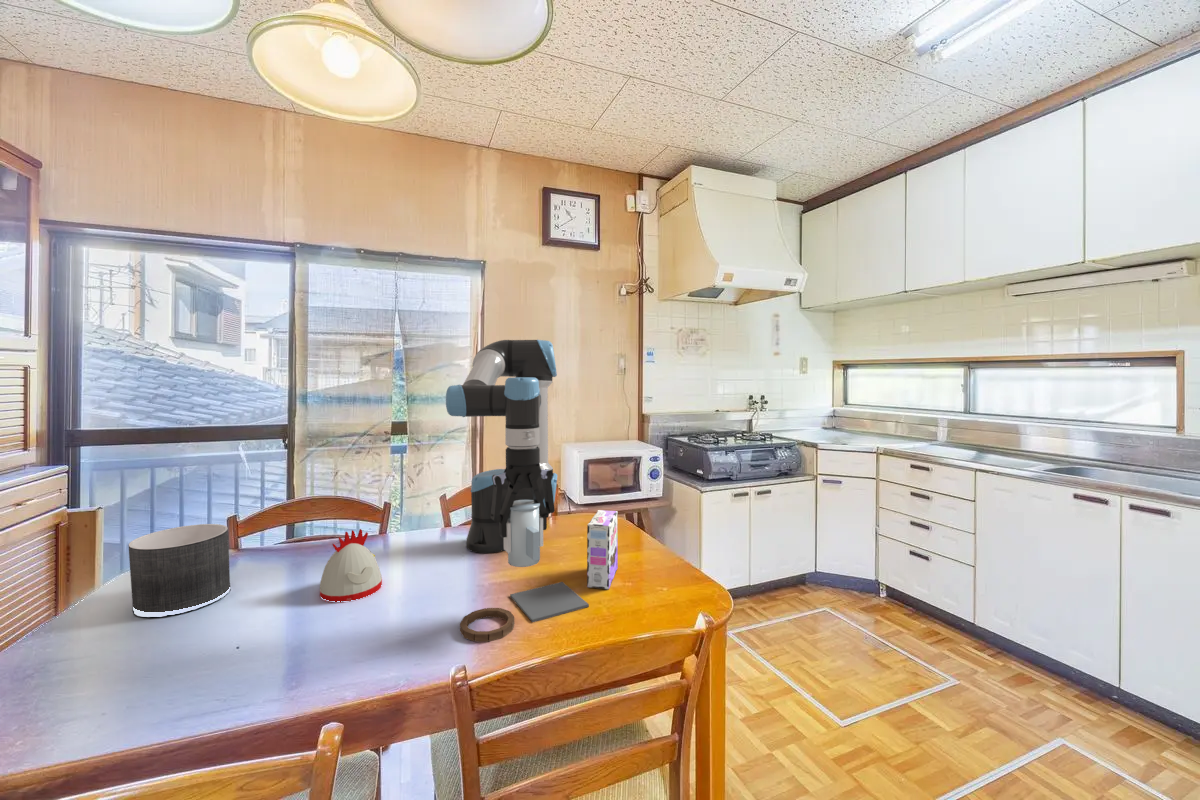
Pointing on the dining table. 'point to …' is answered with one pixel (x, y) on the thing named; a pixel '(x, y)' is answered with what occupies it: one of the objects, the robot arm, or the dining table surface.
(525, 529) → the white cylindrical canister
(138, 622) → the dining table surface
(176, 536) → the planter
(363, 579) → the white chicken figure
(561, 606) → the mat
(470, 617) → the brown segmented ring
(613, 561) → the candy box
